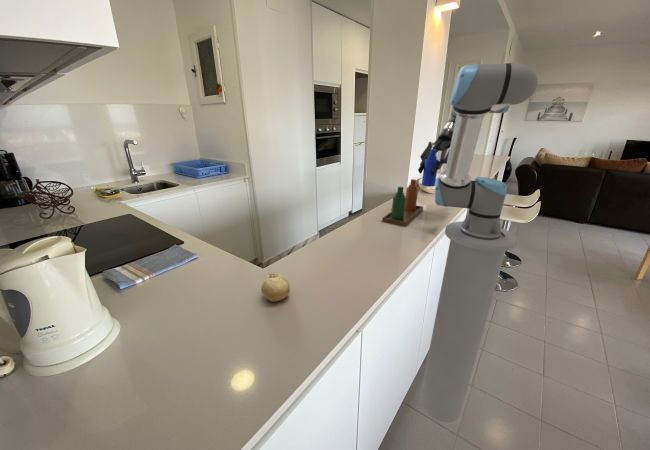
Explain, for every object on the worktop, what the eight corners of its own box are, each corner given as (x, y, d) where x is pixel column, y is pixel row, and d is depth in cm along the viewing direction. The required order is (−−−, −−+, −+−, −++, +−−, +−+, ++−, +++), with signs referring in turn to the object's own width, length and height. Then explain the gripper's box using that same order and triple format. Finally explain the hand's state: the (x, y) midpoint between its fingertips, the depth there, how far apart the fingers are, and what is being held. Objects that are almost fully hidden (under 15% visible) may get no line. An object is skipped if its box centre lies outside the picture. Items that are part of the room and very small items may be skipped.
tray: (422, 210, 153) (423, 206, 152) (405, 226, 130) (405, 222, 129) (402, 206, 159) (402, 203, 158) (382, 221, 136) (382, 217, 135)
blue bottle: (436, 184, 134) (441, 149, 128) (432, 187, 129) (438, 150, 123) (423, 183, 137) (428, 148, 131) (419, 185, 132) (424, 149, 126)
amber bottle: (416, 209, 153) (420, 179, 147) (413, 211, 148) (417, 181, 142) (406, 207, 156) (409, 178, 150) (402, 209, 151) (406, 180, 145)
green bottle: (404, 219, 137) (408, 186, 131) (400, 223, 132) (404, 189, 126) (393, 217, 140) (396, 185, 134) (389, 220, 136) (392, 187, 129)
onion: (294, 291, 81) (293, 270, 79) (283, 308, 74) (281, 285, 72) (269, 286, 83) (268, 266, 81) (256, 302, 76) (254, 280, 74)
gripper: (470, 141, 128) (447, 181, 124) (432, 138, 142) (410, 174, 138) (467, 129, 123) (443, 170, 119) (428, 128, 136) (405, 164, 132)
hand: (425, 172), depth 128 cm, fingers closed on blue bottle, 6 cm apart
